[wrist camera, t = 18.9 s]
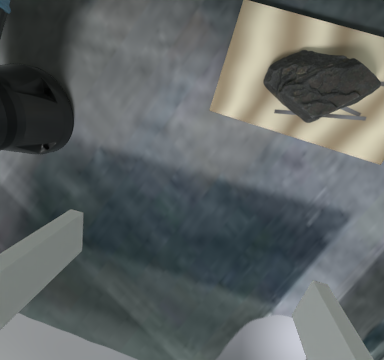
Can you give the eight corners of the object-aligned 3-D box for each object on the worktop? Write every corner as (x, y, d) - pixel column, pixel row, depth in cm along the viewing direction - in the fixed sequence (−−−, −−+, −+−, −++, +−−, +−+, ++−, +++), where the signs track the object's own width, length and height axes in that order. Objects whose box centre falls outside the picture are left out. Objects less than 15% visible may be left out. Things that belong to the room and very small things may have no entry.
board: (210, 110, 31) (209, 110, 29) (243, 5, 26) (243, -2, 25) (373, 162, 29) (380, 164, 28) (440, 60, 24) (453, 56, 23)
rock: (253, 80, 28) (288, 140, 27) (264, 54, 22) (308, 128, 22) (321, 41, 27) (358, 102, 27) (350, 3, 21) (399, 79, 21)
